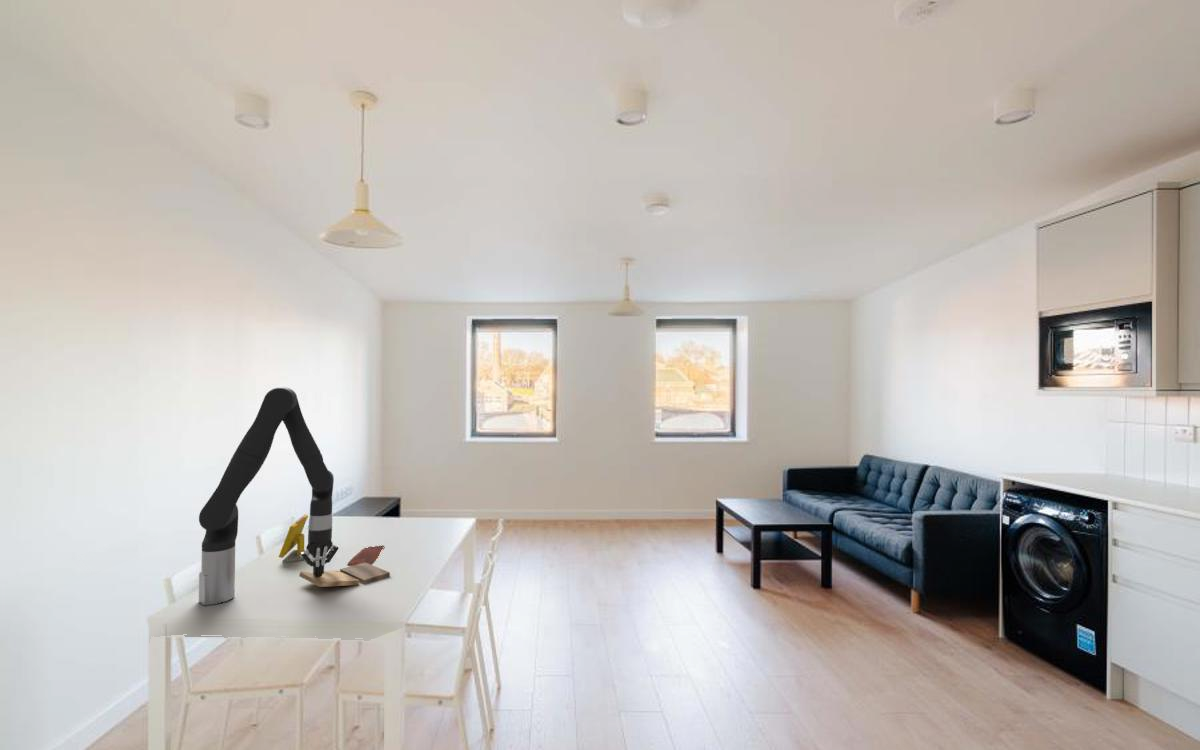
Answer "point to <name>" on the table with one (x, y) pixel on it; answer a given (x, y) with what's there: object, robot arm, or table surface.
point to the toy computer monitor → (294, 541)
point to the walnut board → (365, 572)
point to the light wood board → (330, 579)
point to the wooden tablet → (366, 556)
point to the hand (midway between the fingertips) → (318, 576)
